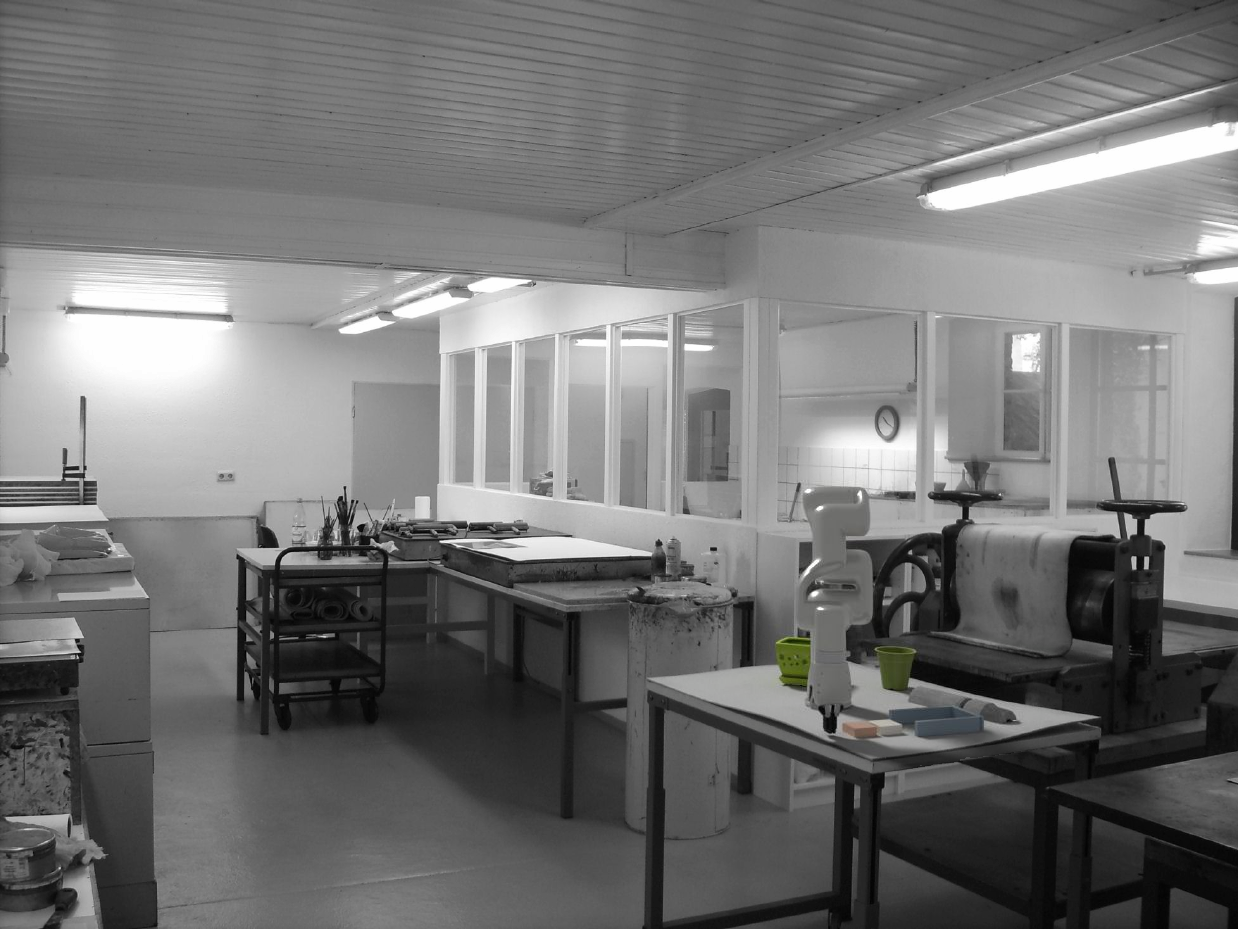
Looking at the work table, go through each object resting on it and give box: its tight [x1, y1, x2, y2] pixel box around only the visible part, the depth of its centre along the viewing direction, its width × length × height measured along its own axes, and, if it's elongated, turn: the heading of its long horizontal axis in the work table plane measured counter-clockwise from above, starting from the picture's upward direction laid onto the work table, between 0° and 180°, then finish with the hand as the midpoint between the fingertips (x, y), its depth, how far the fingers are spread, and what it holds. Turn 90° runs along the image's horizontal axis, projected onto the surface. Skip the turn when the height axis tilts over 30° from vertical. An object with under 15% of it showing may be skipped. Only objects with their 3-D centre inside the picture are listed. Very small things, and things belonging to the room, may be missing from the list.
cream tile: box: [867, 718, 903, 736], centre depth 263 cm, size 6×6×2 cm
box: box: [888, 705, 985, 737], centre depth 267 cm, size 13×19×4 cm
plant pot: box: [874, 645, 917, 691], centre depth 313 cm, size 12×12×11 cm
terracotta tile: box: [841, 720, 878, 738], centre depth 261 cm, size 6×6×2 cm
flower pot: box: [774, 636, 811, 687], centre depth 320 cm, size 14×14×13 cm
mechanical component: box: [907, 685, 1018, 725], centre depth 285 cm, size 9×4×30 cm
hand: (829, 732), depth 259 cm, fingers closed
